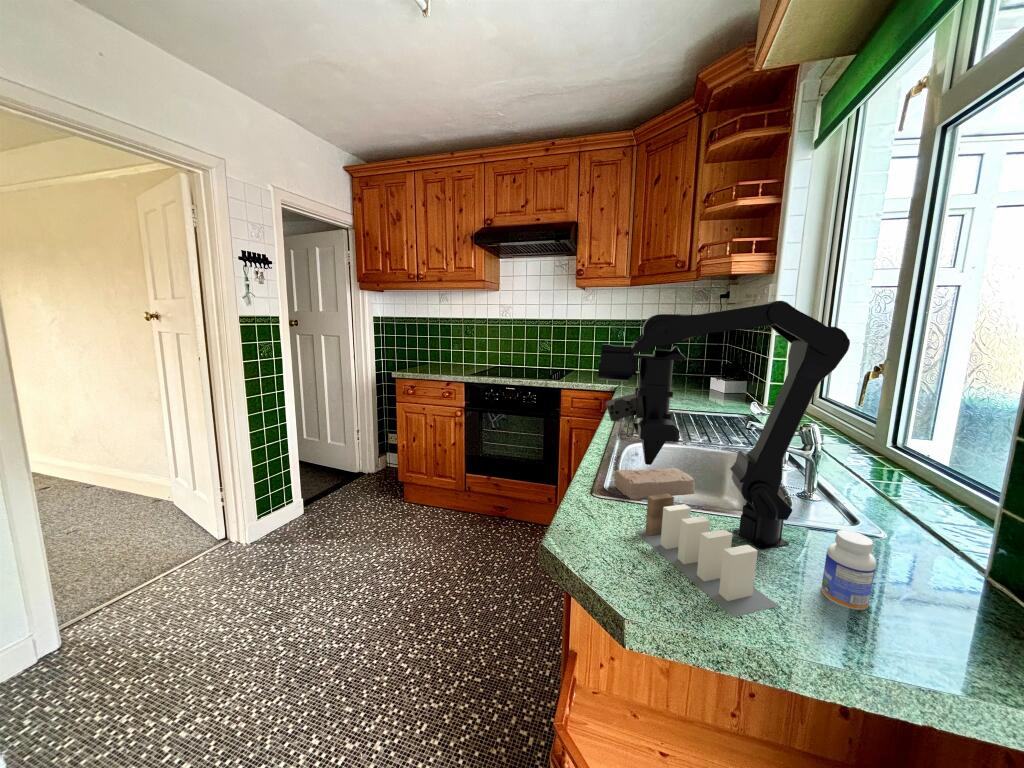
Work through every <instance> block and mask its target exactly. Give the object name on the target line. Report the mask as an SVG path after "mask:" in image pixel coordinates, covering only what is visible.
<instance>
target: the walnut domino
mask: <svg viewBox="0 0 1024 768" xmlns="http://www.w3.org/2000/svg"><path fill="white" fill-rule="evenodd" d="M674 500H675V496H671V495H670V494H661V495H653V496H648V498H647V507H646V521H645V529H646V532H647V533H648V534H649V535H650V536H653V535H660V534H661V531H662V519H663V507H667V506H674V502H675V501H674Z"/></svg>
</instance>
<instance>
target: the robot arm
mask: <svg viewBox="0 0 1024 768" xmlns="http://www.w3.org/2000/svg"><path fill="white" fill-rule="evenodd" d="M766 326H768V327H769V328H771V329H772V330H774V331H775V333H777V334H778V335H779V336H780V337H781V338H782V339H784V340H786V342H788V343H789V344H790V347H789V351H788V358H787V360H788V361H787V362H788V363H787V376H786V377H785V379H784V382H783V383H782V386H781V388H780V390H779V393H778V395H777V397H776V400H775V402H774V404H773V406H772V408H771V410H770V412H769V415H768V417H767V419H766V421H765V423H764V426H763V427H762V430H761V432H760V434H759V437H758V439H757V441H756V444H755V445H754V447H753V448H751V449H750V450H749V451H748V452H747V453H745V452H743V451H742V450H739V451H738V452H737V455H736V459H735V462H734V463H733V465H732V466H731V467H730V469H729V470H730V471H731V472H732V474H731V479H732V483H733V485H734V486H735V487H736V489H737V490H738V492H739V494H740V495H741V496H742V498H743V499H744V501H746V502H745V505H744V504H743V505H742V514H741V515H740V519H739V520H740V521H739V528H738V529H737V528H736V529H733V530H732V532H733V534H735V535H737V536H739V537H740V538H742V539H743V540H745V541H746V542H747V543H750V544H751V545H753V546H754V547H756V548H758V549H759V550H762V551H764V550H769V549H775V548H782V547H786V546H789V545H790V543H789V542H788V541H787V540H785V539H783V538H782V537H783V536H782V535H783V528H784V521H787V520H788V519H789V518H790V516H791V514H792V513H793V508H792V507H791V506H790V505H789V504H788V503H787V501H785V499H784V498H783V497H782V496H781V495H780V494H779V492H780V489H781V485H782V482H783V481H782V480H783V459H784V457H785V455H786V454H787V451H788V449H789V447H790V445H791V442H792V440H793V438H794V436H795V435H796V432H797V430H798V429H799V428H798V427H799V426H800V424H801V422H802V419H803V417H804V415H805V413H806V411H807V408H808V407H809V404H810V402H811V400H812V398H813V396H814V394H815V393H816V392H815V391H816V390H817V388H818V385H820V383H821V382H822V381H824V379H825V378H826V377H827V376H828V375H830V374H831V373H832V372H833V371H834V370H835V369H836V368H837V366H838V365H839V364H840V362H841V361H842V360H843V359H844V357H845V356H846V355H847V353H848V352H849V349H850V344H851V340H850V339H849V337H848V335H847V333H846V332H845V331H844V330H843V329H842V328H839V327H837V326H831V325H829V326H828V325H825V324H824V323H823V322H821V321H820V320H818V319H816V318H814V317H812V316H809V315H808V314H806V313H804V312H803V311H801V310H798V309H796V308H795V307H794V306H792V305H791V304H790V303H789V302H787V301H784V300H773V301H768V302H765V303H763V304H757V305H756V304H755V305H750V306H744V307H738V308H730V309H725V310H718V311H711V312H706V313H699V314H698V313H697V314H680V313H679V314H678V313H676V314H674V313H673V314H671V313H669V314H667V313H664V314H663V313H661V314H655V315H652V316H649V317H648V318H647V319H646V320H645V321H644V323H643V325H642V327H641V334H640V335H639V336H638V338H637V339H635V340H633V343H632V344H631V345H616V344H614V345H613V344H609V343H603V344H601V348H600V349H601V351H600V359H599V362H598V372H597V373H598V374H597V375H598V376H597V380H598V381H599V380H601V381H616V382H629V381H630V378H631V379H632V378H633V377H636V374H637V360H638V359H640V360H639V372H638V373H639V374H638V384H637V385H636V387H634V393H632V394H629V395H628V394H627V395H623V396H620V397H616V398H613V399H609V400H607V401H605V406H606V409H607V412H608V415H609V419H610V421H611V422H618V421H619V420H620V419H624V418H627V417H628V418H629V417H630V418H631V419H634V418H636V420H637V422H632V426H633V428H634V430H635V433H636V434H637V435H638V438H639V439H640V440H641V447H642V453H643V460H644V461H643V462H644V464H645V465H648V466H651V465H652V464H653V463H654V461H655V459H656V458H657V456H658V454H660V453H659V452H660V451H661V450H662V447H664V445H665V443H666V442H668V443H678V442H679V440H680V433H681V432H680V429H679V428H678V427H677V426H676V425H675V424H674V422H673V421H672V420H671V418H672V413H670V401H671V398H673V397H674V391H673V390H672V382H673V381H672V380H673V370H674V368H673V367H674V361H686V356H685V355H684V354H682V353H681V351H680V349H679V347H678V346H676V345H675V344H678V343H681V342H684V341H688V340H689V339H692V338H696V337H699V336H703V335H709V334H716V333H724V332H730V331H736V330H737V331H738V330H745V329H751V328H752V329H753V328H760V327H766ZM671 345H675V346H672V348H671V349H653V352H652V354H645V352H647V351H650V350H651V349H652V348H655V347H656V348H664V347H668V346H671ZM640 353H643V354H640Z"/></svg>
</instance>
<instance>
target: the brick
mask: <svg viewBox="0 0 1024 768" xmlns="http://www.w3.org/2000/svg"><path fill="white" fill-rule="evenodd" d="M695 484H696V483H695V481H694V478H693V477H692V476H691V475H689V474H688V473H686V472H684V471H682V470H680V469H678V468H677V467H668V468H664V467H663V468H654V469H650V470H647V469H646V470H645V469H636V470H635V469H617V470H615V475H614V485H615V487H616V489H617V490H618V491H619V492H620V493H622V494H623V496H625V495H626V496H625V497H627V498H629V499H630V500H634V501H635V500H643V499H648V496H653V495H661V494H670V495H671V496H673V497H675V496H685V495H686V496H687V495H695V489H696V488H695V487H696V485H695Z"/></svg>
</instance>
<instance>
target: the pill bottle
mask: <svg viewBox="0 0 1024 768" xmlns="http://www.w3.org/2000/svg"><path fill="white" fill-rule="evenodd" d="M834 540H835V541H834V542H833V543H831V544H829V545H828V547H827V551H826V555H825V563H824V566H823V567H824V569H823V575H822V581H821V587H820V588H821V589H820V590H821V593H822V594H823V595H824V596H825V597H826V598H827V599H829V601H831V602H834V603H836V604H837V605H839V606H843V607H844V608H846V609H847V608H848V609H851V610H856V611H857V610H858V611H861V610H862V611H863V610H866V609H868V608H869V605H870V599H871V594H872V589H873V583H874V578H875V573H876V570H877V559H876V558H875V557H874V555H873V554H872V552H873V549H874V548H873V547H874V541H873V540H872V539H871V538H870V537H869V536H866V535H864V534H862V533H859V532H856V531H852V530H848V529H842V530H837V532H836V536H835V538H834Z"/></svg>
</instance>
